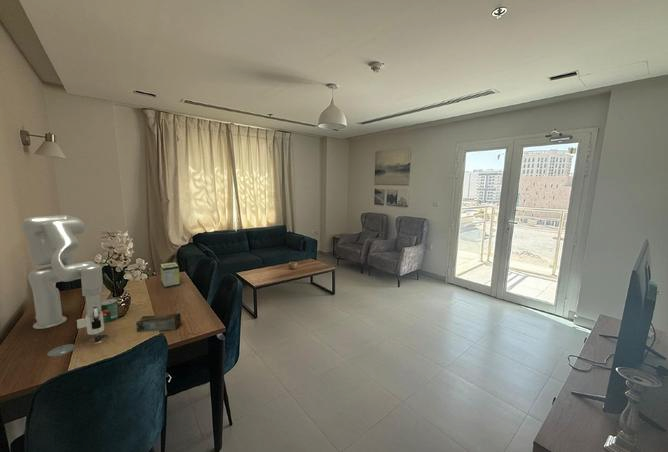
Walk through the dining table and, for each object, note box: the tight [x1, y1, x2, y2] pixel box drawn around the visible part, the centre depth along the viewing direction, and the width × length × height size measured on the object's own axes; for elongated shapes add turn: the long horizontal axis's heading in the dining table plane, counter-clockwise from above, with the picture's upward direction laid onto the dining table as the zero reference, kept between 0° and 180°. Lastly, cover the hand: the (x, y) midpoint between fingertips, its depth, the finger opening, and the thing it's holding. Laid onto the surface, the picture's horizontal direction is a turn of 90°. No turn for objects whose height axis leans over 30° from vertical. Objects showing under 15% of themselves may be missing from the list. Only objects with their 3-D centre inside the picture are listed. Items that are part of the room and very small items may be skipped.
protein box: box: [159, 261, 181, 289], centre depth 208 cm, size 10×16×16 cm
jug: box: [76, 311, 105, 335], centre depth 129 cm, size 6×9×9 cm, turn 127°
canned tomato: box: [101, 298, 119, 324], centre depth 151 cm, size 8×8×11 cm
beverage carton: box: [135, 313, 182, 333], centre depth 145 cm, size 8×19×7 cm, turn 102°
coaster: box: [47, 343, 76, 358], centre depth 122 cm, size 9×9×1 cm
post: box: [86, 332, 110, 346], centre depth 131 cm, size 8×8×7 cm
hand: (95, 325), depth 131 cm, fingers closed on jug, 6 cm apart
